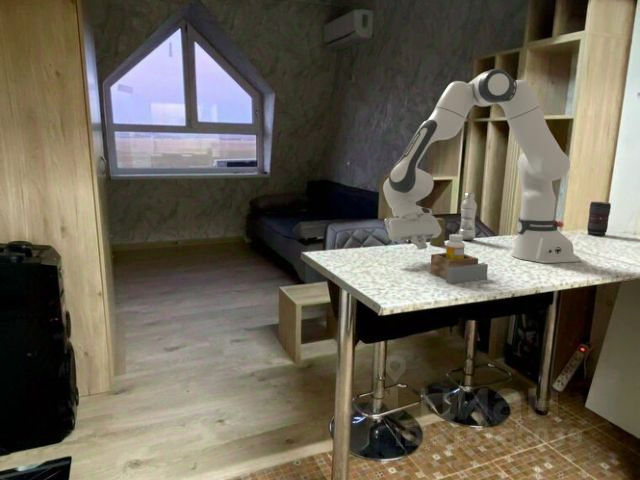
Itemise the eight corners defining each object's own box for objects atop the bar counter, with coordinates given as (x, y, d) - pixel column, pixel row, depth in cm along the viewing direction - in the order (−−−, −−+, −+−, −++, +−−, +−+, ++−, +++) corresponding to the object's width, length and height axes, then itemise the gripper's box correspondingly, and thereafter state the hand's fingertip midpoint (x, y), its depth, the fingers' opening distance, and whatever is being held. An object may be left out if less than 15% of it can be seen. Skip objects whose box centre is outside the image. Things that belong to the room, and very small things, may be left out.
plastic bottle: (472, 242, 196) (476, 194, 192) (456, 240, 199) (459, 193, 195) (476, 239, 201) (480, 193, 197) (460, 237, 205) (463, 192, 201)
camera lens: (608, 237, 208) (613, 203, 205) (587, 236, 210) (592, 202, 207) (604, 234, 215) (609, 201, 212) (584, 232, 218) (588, 200, 215)
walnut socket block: (430, 272, 149) (431, 254, 148) (455, 269, 153) (456, 251, 152) (451, 281, 140) (452, 261, 139) (476, 277, 144) (478, 258, 143)
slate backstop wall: (446, 282, 139) (446, 267, 138) (481, 276, 145) (483, 262, 144) (450, 284, 138) (451, 269, 137) (486, 278, 143) (487, 264, 142)
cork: (445, 246, 187) (446, 219, 185) (429, 246, 188) (431, 219, 186) (444, 243, 193) (446, 217, 191) (429, 243, 194) (430, 216, 192)
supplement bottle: (442, 263, 148) (444, 233, 146) (459, 263, 149) (461, 233, 147) (448, 268, 143) (450, 237, 141) (465, 267, 144) (468, 236, 142)
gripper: (386, 212, 159) (401, 245, 153) (434, 209, 168) (451, 240, 161) (378, 222, 164) (393, 256, 158) (426, 219, 173) (441, 250, 166)
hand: (422, 248), depth 159 cm, fingers closed
